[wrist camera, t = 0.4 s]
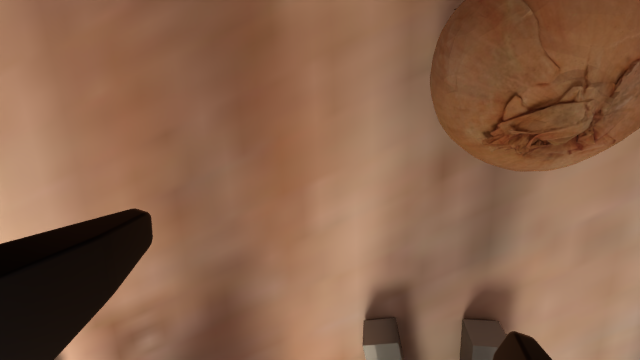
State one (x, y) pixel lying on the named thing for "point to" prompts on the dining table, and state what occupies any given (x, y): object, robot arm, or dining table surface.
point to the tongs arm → (382, 340)
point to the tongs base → (480, 339)
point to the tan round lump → (538, 79)
